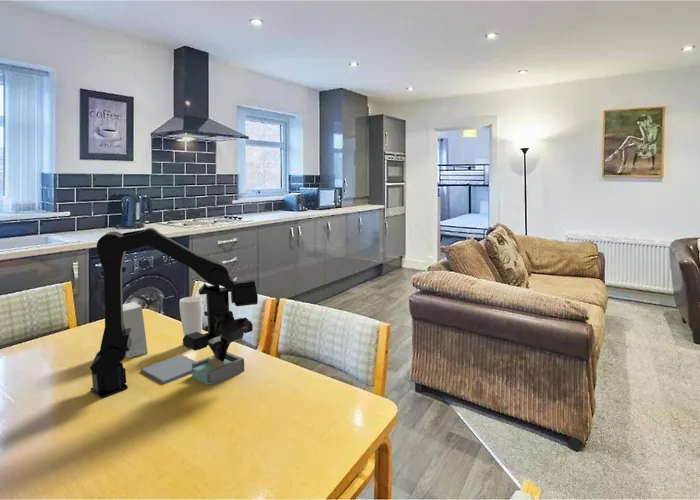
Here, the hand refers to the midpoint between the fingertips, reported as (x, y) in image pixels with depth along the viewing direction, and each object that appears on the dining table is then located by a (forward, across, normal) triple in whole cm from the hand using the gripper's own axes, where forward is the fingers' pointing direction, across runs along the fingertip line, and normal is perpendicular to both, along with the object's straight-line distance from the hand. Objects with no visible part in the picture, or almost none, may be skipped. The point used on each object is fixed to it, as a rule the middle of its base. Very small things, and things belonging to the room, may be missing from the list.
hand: (221, 362), depth 117 cm
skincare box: (+3, -8, +33) cm, 34 cm away
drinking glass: (+3, +7, +24) cm, 25 cm away
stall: (+3, -1, 0) cm, 3 cm away
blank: (+3, -2, 0) cm, 4 cm away
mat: (+3, -7, +12) cm, 14 cm away
